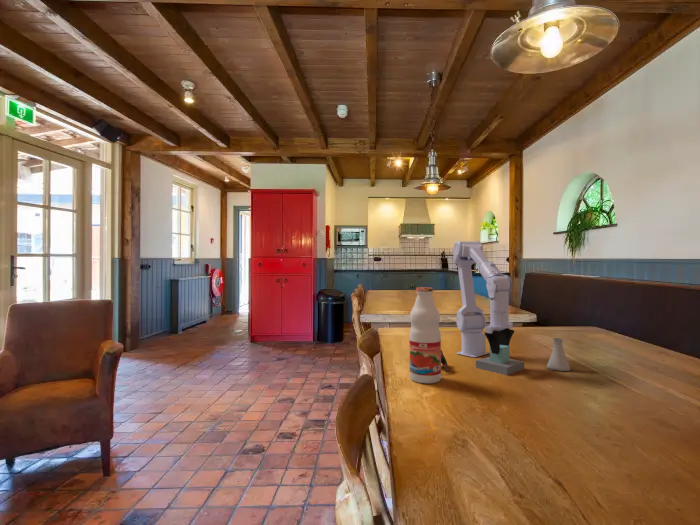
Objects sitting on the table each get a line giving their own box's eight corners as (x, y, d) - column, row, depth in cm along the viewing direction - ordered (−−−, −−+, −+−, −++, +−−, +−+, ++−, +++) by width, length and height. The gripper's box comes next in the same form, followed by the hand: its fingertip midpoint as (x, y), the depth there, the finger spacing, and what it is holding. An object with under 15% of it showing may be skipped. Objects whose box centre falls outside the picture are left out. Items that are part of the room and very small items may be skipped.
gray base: (493, 363, 132) (493, 355, 132) (524, 370, 124) (524, 361, 124) (475, 369, 126) (475, 360, 126) (506, 377, 117) (506, 367, 117)
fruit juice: (443, 376, 116) (442, 286, 116) (437, 385, 107) (436, 288, 108) (414, 373, 120) (413, 286, 120) (406, 381, 111) (405, 288, 111)
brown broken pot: (447, 376, 118) (433, 354, 118) (422, 384, 123) (409, 363, 123) (455, 358, 128) (442, 337, 129) (432, 366, 133) (420, 346, 134)
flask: (574, 372, 119) (574, 341, 120) (550, 371, 121) (549, 340, 121) (566, 366, 127) (565, 336, 127) (543, 365, 128) (542, 336, 128)
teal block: (497, 358, 128) (496, 344, 128) (509, 361, 124) (509, 346, 125) (490, 360, 125) (489, 346, 125) (502, 363, 122) (502, 348, 122)
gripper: (499, 314, 117) (500, 357, 117) (521, 310, 126) (521, 350, 126) (479, 312, 122) (479, 353, 122) (501, 308, 132) (501, 347, 132)
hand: (499, 352), depth 125 cm, fingers open, 5 cm apart
